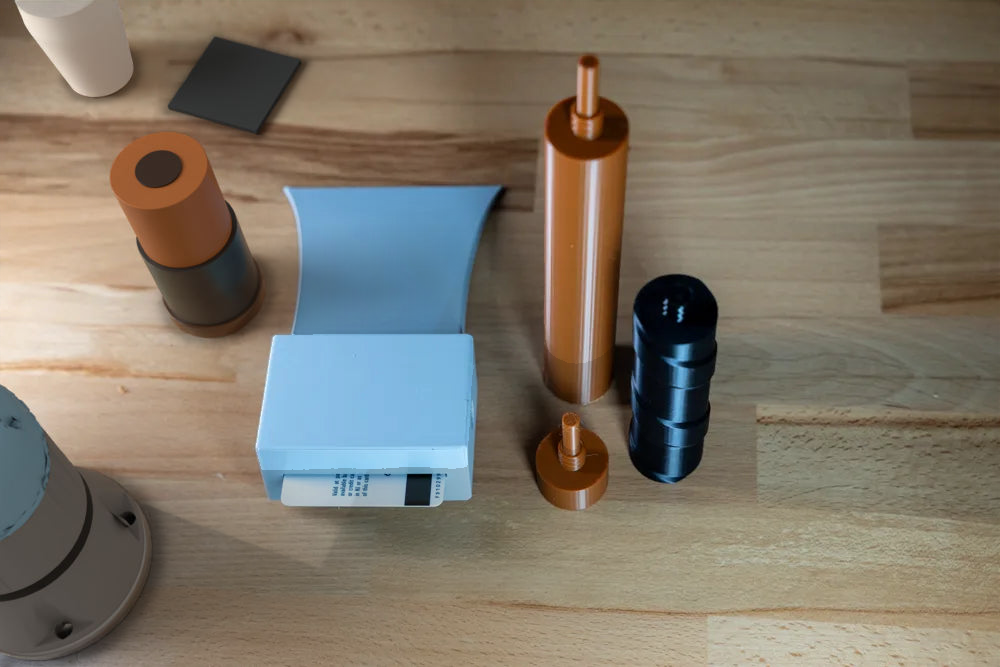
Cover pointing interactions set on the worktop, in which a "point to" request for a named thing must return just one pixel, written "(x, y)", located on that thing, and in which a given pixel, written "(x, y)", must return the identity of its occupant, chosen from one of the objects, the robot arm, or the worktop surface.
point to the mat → (235, 85)
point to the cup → (82, 42)
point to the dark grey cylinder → (212, 288)
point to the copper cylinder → (171, 199)
